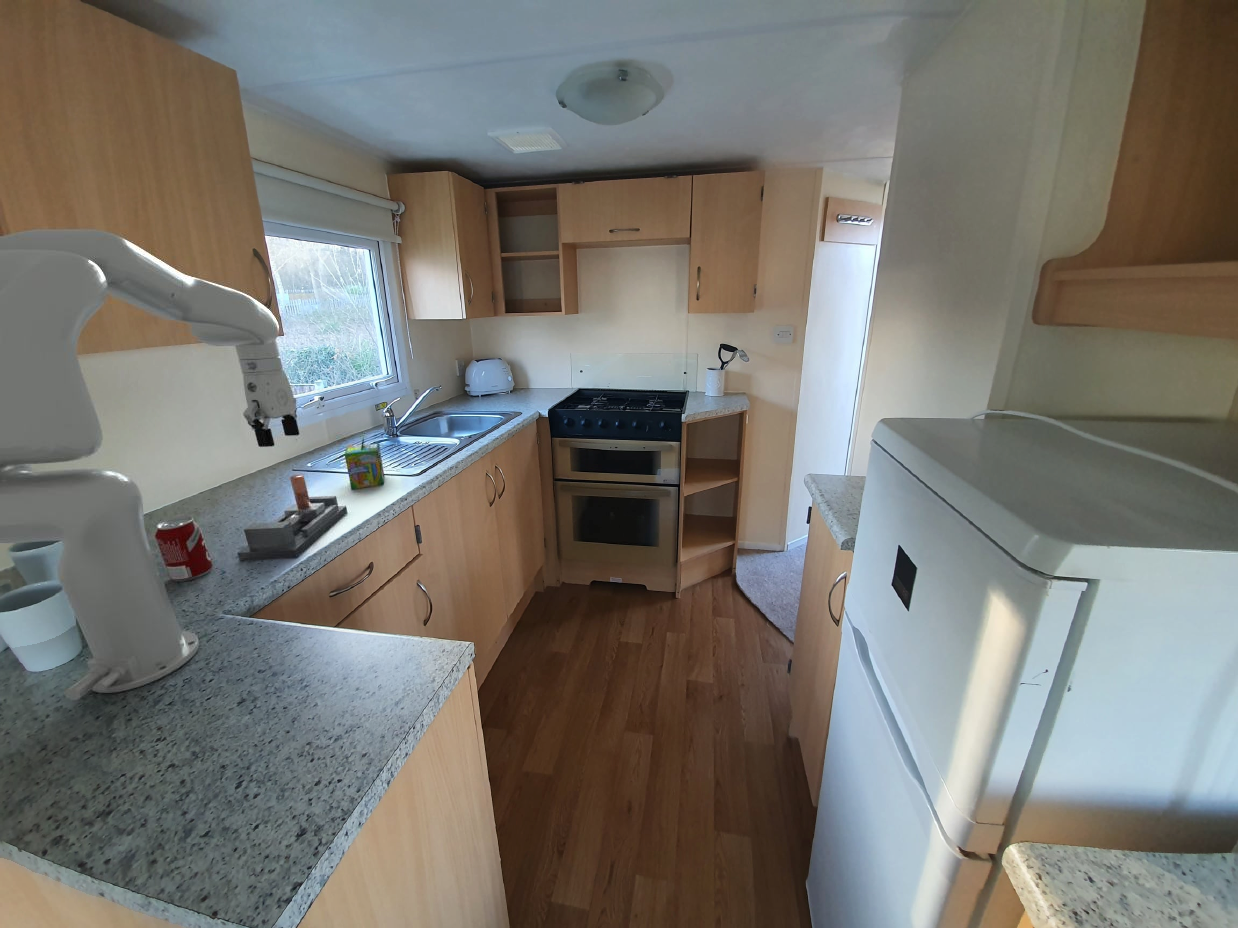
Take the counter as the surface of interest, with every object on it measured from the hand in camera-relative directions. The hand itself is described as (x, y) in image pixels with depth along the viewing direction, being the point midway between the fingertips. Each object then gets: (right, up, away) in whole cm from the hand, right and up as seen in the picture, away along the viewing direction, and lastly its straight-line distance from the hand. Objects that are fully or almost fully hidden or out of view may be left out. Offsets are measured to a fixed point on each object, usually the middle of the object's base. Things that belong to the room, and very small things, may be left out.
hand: (280, 440), depth 112 cm
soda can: (-9, -29, -13) cm, 33 cm away
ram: (+2, -20, +5) cm, 20 cm away
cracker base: (+2, -22, +4) cm, 23 cm away
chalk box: (+1, -12, +37) cm, 39 cm away
